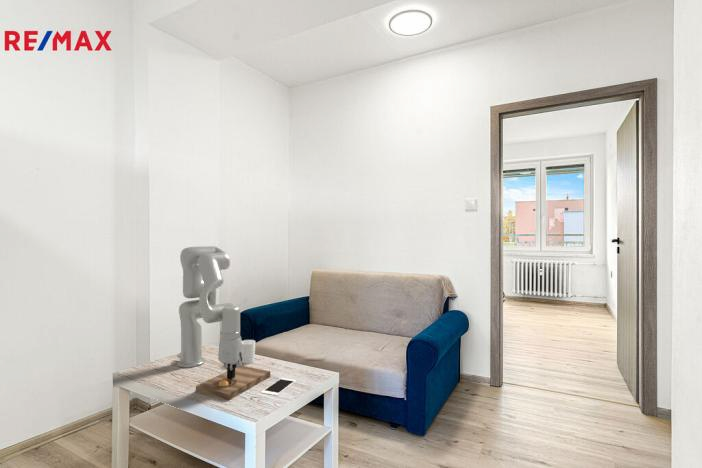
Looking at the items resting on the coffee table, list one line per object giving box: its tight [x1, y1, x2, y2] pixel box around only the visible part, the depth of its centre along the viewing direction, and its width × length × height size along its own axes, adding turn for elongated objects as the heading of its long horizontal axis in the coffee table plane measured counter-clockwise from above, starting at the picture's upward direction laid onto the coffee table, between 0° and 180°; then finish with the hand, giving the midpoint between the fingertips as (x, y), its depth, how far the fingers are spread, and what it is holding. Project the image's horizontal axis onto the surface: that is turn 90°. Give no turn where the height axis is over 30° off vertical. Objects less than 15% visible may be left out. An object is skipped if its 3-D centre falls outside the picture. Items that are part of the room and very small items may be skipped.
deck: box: [195, 364, 271, 401], centre depth 156 cm, size 26×18×2 cm
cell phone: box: [260, 377, 297, 396], centre depth 154 cm, size 8×16×1 cm, turn 159°
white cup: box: [241, 339, 256, 365], centre depth 184 cm, size 8×8×10 cm
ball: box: [219, 380, 229, 386], centre depth 150 cm, size 4×4×4 cm
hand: (231, 378), depth 154 cm, fingers closed
